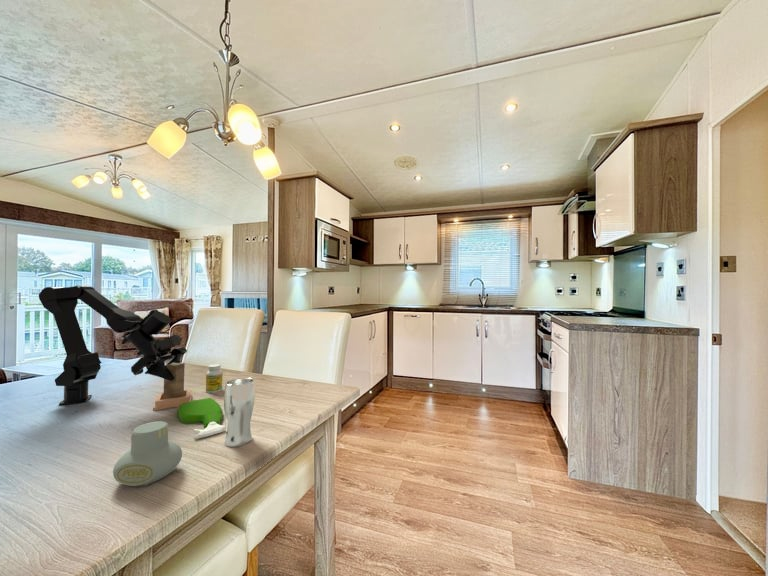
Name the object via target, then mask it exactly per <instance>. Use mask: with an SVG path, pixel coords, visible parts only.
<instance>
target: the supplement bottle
mask: <svg viewBox="0 0 768 576" xmlns="http://www.w3.org/2000/svg"><path fill="white" fill-rule="evenodd" d="M207 370H208V371H207V372H206V374H205V375H206V376H205V392H206V393H207V394H208V393H209V394H216V393H219V392H221V391H222V390H223V371H222V368H221V364H218V363H217V364H216V363H215V364H210V365H208V367H207Z"/></svg>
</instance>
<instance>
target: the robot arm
mask: <svg viewBox="0 0 768 576" xmlns="http://www.w3.org/2000/svg"><path fill="white" fill-rule="evenodd" d="M38 299H39V301H40V303H41V305H42V306H43V308H44V309H46V311H48V312H49V313H51V314H52V315H53V318H54V321H55V323H56V327H57V329H58V333H59V336H60V338H61V339H60V340H61V342H62V344H63V348H64V350H65V354H66V357H65V358H64V361H63V364H62V366H63V372H61V373H60V374H59V375H58V376H57V377H56V378H55V379H54V383H55V387H56V386H57V387H63V400H61V401H60V402H59V403H58V406H63V405H73V404H79V403H80V404H81V403H85V402H88V401H89V399H90V398H92V396H93V395H92V394H89V382H90V381H92V380H95V379H97V375H98V373H99V372H100V370H101V364H102V361H101V360H100V356H99V353H98V352H97V351H95V352H91V351H89V349H88V347H87V344H86V341H85V339H84V336H83V333H82V330H81V326H80V324H79V321H78V317H77V313H76V311H75V310H76V308H77V306H78V302H79V301H78V300H80V301H81V302H82V303H84V304H85V305H87V306H88V307H90V309H92V310H94V311H95V312H97V313H98V314H99V315H100V316H101V317H103V318H104V319H105V320H106V324H107V325H108V327H109V328H110V329H111V330H112V331H113V332H114V333H117V334H122V333H124V334H125V333H129V334H128V335H123V336H122V340H121V341H122V342H121V345H127V344H131V345H132V346H133V347H134V348H135V349H136V350H137V351H138V352H137V353H136V355H137V356H138V357H139V356H141V357H140V358H139V359H138V360H137V361H136V362H134V364H133V365H132V366H131V368H130V372H131V373H132V374H133V375H134V376H137V375H141V374H143V373H144V374H145V375H152V376H155V377H158V378H160V379H163V380H164V379H167V380H170V381H173V380H174V377H173V375H172V374H171V373H170V371H169V370H168V369H167V367H166V366H165V365H168V364H171V363H181V358H182V357H183V356H184V355H185V354H186V353H187V352H188V350H187V349H186V347H184V346H180V345H182V341H183V337H181V336H180V335H179V334H178V333H175V334H172V335H170V336H169V337H167V338H164V339H156V338H155V336H157V335H159V334H161V332H162V331H163V330H164V329H166V328H167V327H168V326H169V325H170V323H172V319H171V317H170V316H169V315H168V314H166V313H164V312H161V311H159V310H158V309H151V310H150V311H148V314H147V315H146V316H144V317H143V318H142V317H141V316H140V315H138V314H137V313H134V312H132V311H129V310H126V309H123V308H121V307H119V306H118V305H116V304H115V303H113V302H112V301H110V300H109V299H108V298H107V297H105V296H104V295H103V294H101V293H100V292H98V291H97V290H96V288H95V287H94V286H91V285H75V286H68V287H65V286H64V287H62V286H61V287H60V286H45V287H44V288H42V290H41V291H40V292H39V293H38ZM154 335H155V336H154ZM176 346H179V347H176ZM174 347H175V348H174ZM172 348H173V349H172ZM144 368H146V371H145V372H144Z"/></svg>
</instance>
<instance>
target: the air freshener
mask: <svg viewBox="0 0 768 576" xmlns="http://www.w3.org/2000/svg"><path fill="white" fill-rule="evenodd" d="M130 443H131V444H130V445H131V446H130V449H129V450H128V451H126V452H125V453H124V454H123V455H122V456H120V458H119V459H118V460H117V461H116V462H115V464H114V467H113V470H112V475H113V478H114V479H115V481H116V482H118V483H119V484H121V485H125V486H131V487H132V486H133V487H143V486H146V484H147V485H150V484H152V483H155V482H156V481H159V480H161V479H163V478H164V477H166V476H168V475H169V474H171V472H173V471H174V470H175V469H176V468H177V467H178V465H179V464H180V462H181V461H182V456H183V450H182V447H181V446H180V445H179V444H177V443H176V442H174V441H171V440H169V423H167V422H166V421H163V420H162V421H161V420H159V421H151V422H150V421H149V422H147V423H144V424H141V425H138V426H137V427H135V428H133V429H132V431H131V441H130ZM142 485H143V486H142Z"/></svg>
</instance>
